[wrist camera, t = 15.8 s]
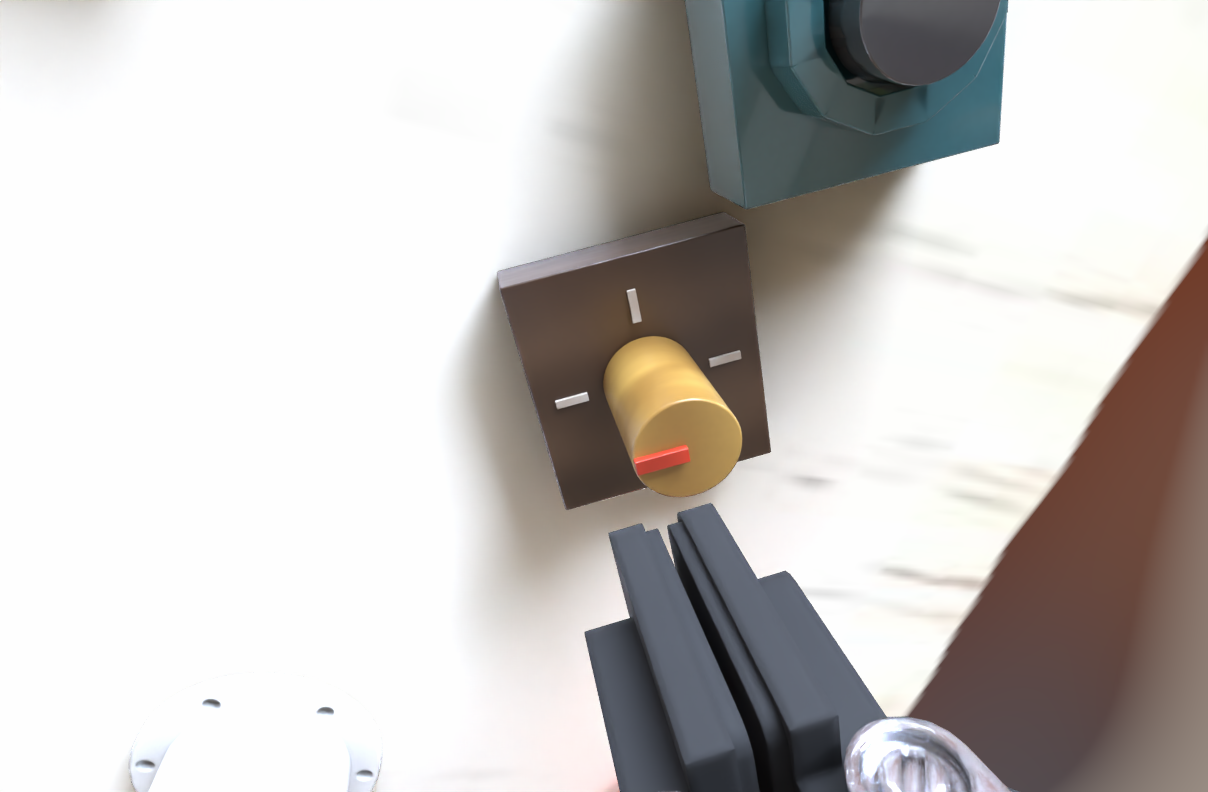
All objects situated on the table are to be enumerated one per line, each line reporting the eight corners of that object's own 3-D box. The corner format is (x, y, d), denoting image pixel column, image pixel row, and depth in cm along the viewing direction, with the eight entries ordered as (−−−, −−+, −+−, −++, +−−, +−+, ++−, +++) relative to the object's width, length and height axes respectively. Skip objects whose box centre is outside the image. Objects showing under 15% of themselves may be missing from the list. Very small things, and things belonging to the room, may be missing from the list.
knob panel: (752, 427, 34) (773, 454, 32) (559, 481, 34) (566, 513, 31) (724, 211, 29) (746, 224, 27) (496, 271, 29) (499, 290, 26)
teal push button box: (933, 133, 29) (1035, 149, 24) (710, 190, 29) (764, 220, 23) (937, -192, 24) (1069, -262, 19) (666, -129, 24) (723, -183, 18)
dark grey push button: (956, 65, 23) (999, 66, 21) (831, 98, 22) (863, 101, 21) (961, -93, 21) (1008, -108, 19) (822, -60, 20) (857, -72, 18)
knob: (686, 324, 28) (739, 390, 23) (700, 407, 30) (751, 486, 25) (594, 349, 28) (623, 421, 23) (612, 430, 30) (645, 515, 24)
